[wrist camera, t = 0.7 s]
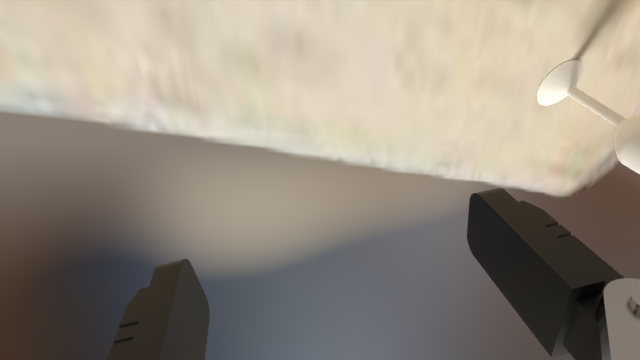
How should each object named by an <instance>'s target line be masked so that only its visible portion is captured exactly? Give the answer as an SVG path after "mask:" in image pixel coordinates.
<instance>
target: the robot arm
mask: <svg viewBox="0 0 640 360" xmlns="http://www.w3.org/2000/svg"><path fill="white" fill-rule="evenodd" d="M467 239H468V244H469V247H470V250H471V252H472V254H473V255H474V257H475V258H476V260H477V261H478V262H479V263H480V264H481V266H482V267H483V268H484V270H485V271H486V273H487V274H488V275H489V277H490V278H491V279H492V280H493V282H494V283H495V284H496V286H497V287H498V288H499V290H500V291H501V292H502V293H503V295H504V296H505V297H506V299H507V300H508V301H509V303H510V304H511V305H512V306H513V308H514V309H515V311H516V312H517V313H518V314H519V316H520V317H521V318H522V320H523V321H524V322H525V324H526V325H527V326H528V328H529V329H530V330H531V331H532V333H533V334H534V335H535V337H536V338H537V339H538V341H539V342H540V343H541V345H542V346H543V347H544V348H545V349H546V351H547V352H548V354H549V355H550V356H551V357H554V356H558V355H562V354H565V353H570V354H571V355H572V356H573V358H574V359H575V360H640V279H632V278H624V277H623V276H621V275H620V274H619V273H618V272H616V271H615V270H614V269H613V268H612V267H611V266H609V265H608V264H607V263H606V262H605V261H603V260H602V259H601V258H600V257H599V256H598V255H596V254H595V253H594V252H593V251H592V250H590V249H589V248H588V247H587V246H586V245H584V244H583V243H582V242H581V241H580V240H579V239H577V238H576V237H575V236H571V233H570V232H569V231H568V230H567V229H565V228H564V227H563V226H561V225H559V224H558V222H557V221H556V220H555V219H554V218H552V217H551V216H550V215H549V214H547V213H546V212H545V211H544V210H542V209H540V208H538V207H536V206H533V205H532V204H529V203H527V202H525V201H520V202H517V201H516V200H515V199H514V198H513V197H512V196H511V195H510V194H508V193H507V192H506V191H505V190H504V189H502V188H495V189H491V190H486V191H482V192H477V193H473V194H472V195H471V197H470V203H469V215H468V229H467ZM209 317H210V314H209V305H208V300H207V297H206V295H205V292H204V290H203V288H202V286H201V284H200V282H199V280H198V278H197V276H196V274H195V272H194V269H193V267H192V265H191V263H190V262H189V260H187V259H182V260H178V261H173V262H169V263H165V264H160V265H157V267H156V268H155V270H154V274H153V277H152V280H151V283H150V286H149V287H147V288H143V289H140V290H139V291H138V292H137V294H136V295H135V296H134V297H133V299H132V300H131V301H130V302H129V304H128V305H127V307H126V309H125V311H124V314H123V317H122V320H121V322H120V329H118V331H117V334H116V336H115V339H114V345H112V347H111V350H110V353H109V355H108V358H107V360H205V352H206V344H207V335H208V327H209Z"/></svg>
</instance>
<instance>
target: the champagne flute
mask: <svg viewBox="0 0 640 360" xmlns="http://www.w3.org/2000/svg"><path fill="white" fill-rule="evenodd" d="M582 74H583V64H582V63H581V62H580V61H578V60H570V61H567V62H564V63H562V64H561V65H559V66H557V67H556V68H555V69H554V70H552V71H551V72H550V73H549V74H548V75H547V76H546V78H545V79H544V80H543V82H542V83H541V85H540V87H539V89H538V92H537V101H538V103H539V104H541V105H544V106H548V105H552V104H555V103H557V102H559V101H560V100H562V99H564V98H565V97H567V96H568V95H569V96H570V97H572V98H573V99H575V100H576V101H578V102H580V103H581V104H583V105H584V106H586V107H587V108H589V109H590V110H592V111H593V112H595V113H596V114H598V115H600V116H601V117H603V118H604V119H606V120H607V121H609V122H610V123H612V124H613V125H615V126H617V127H618V128H617V130H616V136H615V150H616V155H617V157H618V159H619V161H620V162H621V163H622V164H623V165H625V166H627V167H629V168H630V169H632V170H634V171H635V172H637V173H639V174H640V115H638V116H633V117H631V118H628V119H626V118H624V117H622V116H621V115H619V114H618V113H616V112H614V111H613V110H611V109H609V108H608V107H606V106H605V105H603V104H601V103H600V102H598V101H597V100H595V99H593V98H592V97H590V96H588V95H587V94H585V93H584V92H582V91H580V90H579V89H577V88H576V86H577V84H578V83H579V81H580V79H581V77H582Z"/></svg>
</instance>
